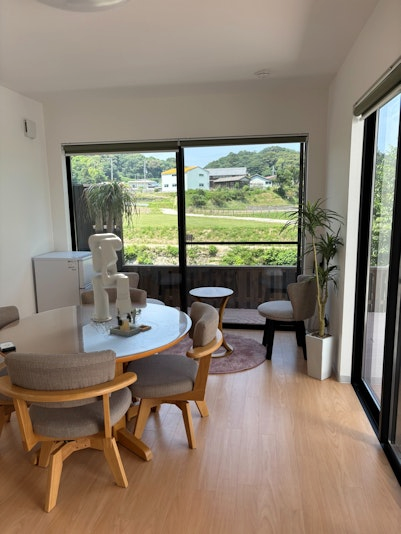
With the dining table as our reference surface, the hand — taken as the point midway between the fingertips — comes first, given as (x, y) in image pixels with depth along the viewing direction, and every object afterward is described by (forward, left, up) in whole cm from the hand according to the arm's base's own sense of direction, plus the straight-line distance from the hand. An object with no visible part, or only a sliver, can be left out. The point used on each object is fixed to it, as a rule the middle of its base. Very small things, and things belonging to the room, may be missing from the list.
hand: (124, 323), depth 250 cm
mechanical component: (-9, +18, -6) cm, 21 cm away
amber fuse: (0, 0, -5) cm, 5 cm away
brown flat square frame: (+5, +11, -6) cm, 13 cm away
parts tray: (0, 0, -6) cm, 6 cm away
